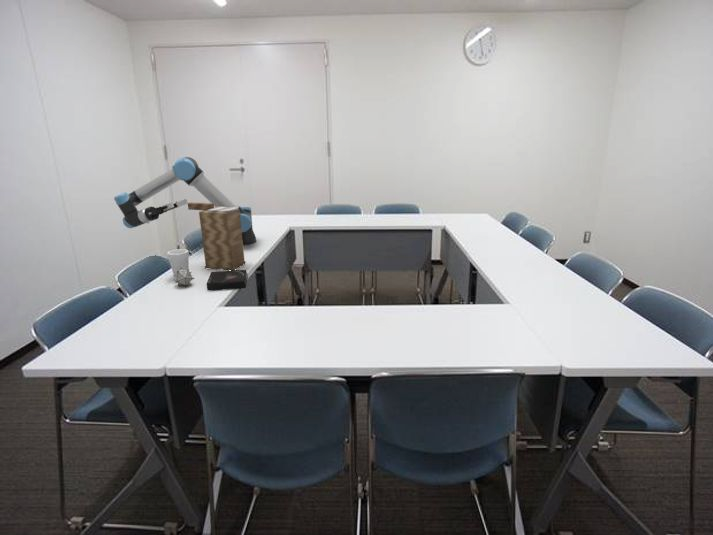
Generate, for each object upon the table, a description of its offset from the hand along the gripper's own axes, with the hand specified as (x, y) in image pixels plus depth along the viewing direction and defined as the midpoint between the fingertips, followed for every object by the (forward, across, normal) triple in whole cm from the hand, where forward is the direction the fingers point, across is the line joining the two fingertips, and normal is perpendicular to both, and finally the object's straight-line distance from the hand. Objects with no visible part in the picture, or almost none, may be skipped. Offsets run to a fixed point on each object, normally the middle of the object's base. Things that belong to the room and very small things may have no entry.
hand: (180, 202), depth 223 cm
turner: (+25, +14, -10) cm, 30 cm away
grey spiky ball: (+12, +44, -38) cm, 59 cm away
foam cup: (+5, +33, -36) cm, 49 cm away
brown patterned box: (+18, +14, -40) cm, 46 cm away
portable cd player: (+30, +38, -45) cm, 66 cm away
